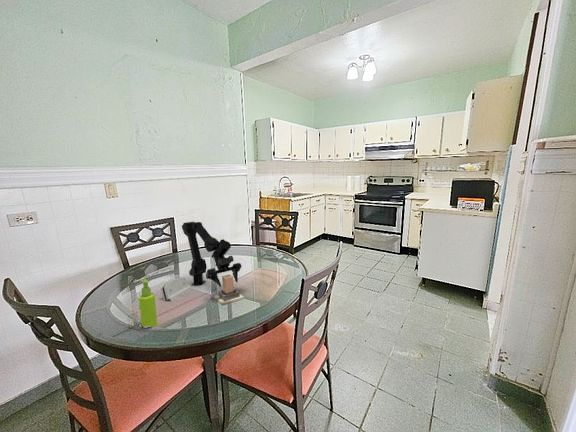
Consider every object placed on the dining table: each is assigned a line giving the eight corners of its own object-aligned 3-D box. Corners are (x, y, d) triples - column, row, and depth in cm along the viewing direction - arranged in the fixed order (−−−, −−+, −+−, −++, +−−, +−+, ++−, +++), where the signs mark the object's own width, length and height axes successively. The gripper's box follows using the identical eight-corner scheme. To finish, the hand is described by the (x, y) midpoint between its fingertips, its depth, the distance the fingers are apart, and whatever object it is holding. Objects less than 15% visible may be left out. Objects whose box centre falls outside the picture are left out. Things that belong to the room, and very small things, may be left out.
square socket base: (214, 297, 134) (213, 291, 134) (234, 291, 141) (234, 285, 141) (222, 305, 124) (221, 298, 124) (244, 298, 131) (243, 292, 131)
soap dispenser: (151, 319, 113) (147, 276, 111) (159, 323, 109) (155, 279, 107) (138, 325, 108) (133, 281, 106) (145, 330, 104) (141, 284, 102)
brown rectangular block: (223, 296, 133) (222, 276, 132) (231, 293, 136) (229, 274, 135) (226, 298, 130) (225, 278, 129) (234, 296, 132) (233, 276, 131)
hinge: (171, 301, 131) (164, 284, 131) (164, 303, 133) (157, 286, 133) (192, 289, 147) (186, 273, 147) (186, 291, 148) (180, 275, 148)
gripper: (205, 254, 128) (214, 281, 120) (239, 248, 139) (249, 272, 131) (202, 266, 135) (210, 291, 128) (234, 259, 146) (243, 282, 138)
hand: (229, 284), depth 131 cm, fingers open, 9 cm apart
